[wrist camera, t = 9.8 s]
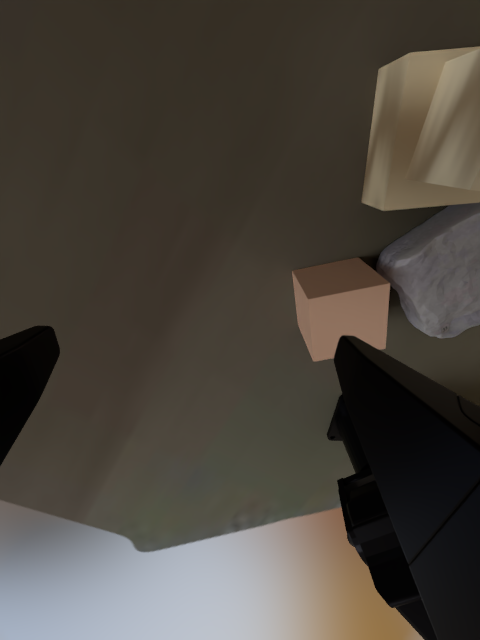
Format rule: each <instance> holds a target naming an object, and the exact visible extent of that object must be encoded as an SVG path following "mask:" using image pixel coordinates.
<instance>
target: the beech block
mask: <svg viewBox="0 0 480 640" xmlns="http://www.w3.org/2000/svg"><path fill="white" fill-rule="evenodd" d="M405 179H407V180H413V181H419V182H425V183H431V184H437V185H443V186H449V187H455V188H461V189H467V190H475V191H480V49H477V50H475V51H472V52H470V53H467V54H465V55H462V56H459V57H457V58H454V59H452V60H449V61H447V62H445V65H444V68H443V70H442V73H441V76H440V79H439V82H438V85H437V88H436V91H435V94H434V97H433V99H432V102H431V105H430V108H429V111H428V114H427V117H426V120H425V123H424V125H423V128H422V131H421V134H420V137H419V140H418V143H417V146H416V149H415V152H414V154H413V157H412V160H411V163H410V166H409V169H408V172H407V175H406V178H405Z"/></svg>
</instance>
